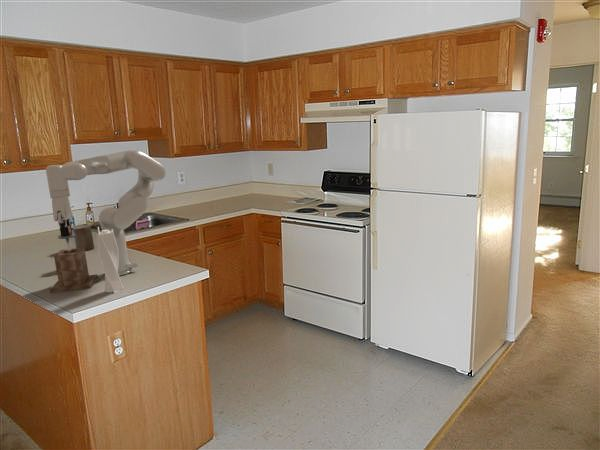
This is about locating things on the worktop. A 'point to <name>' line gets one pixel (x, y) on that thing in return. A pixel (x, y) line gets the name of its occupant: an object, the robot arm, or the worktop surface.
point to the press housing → (72, 271)
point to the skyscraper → (109, 260)
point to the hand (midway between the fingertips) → (66, 234)
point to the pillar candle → (83, 237)
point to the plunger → (68, 239)
